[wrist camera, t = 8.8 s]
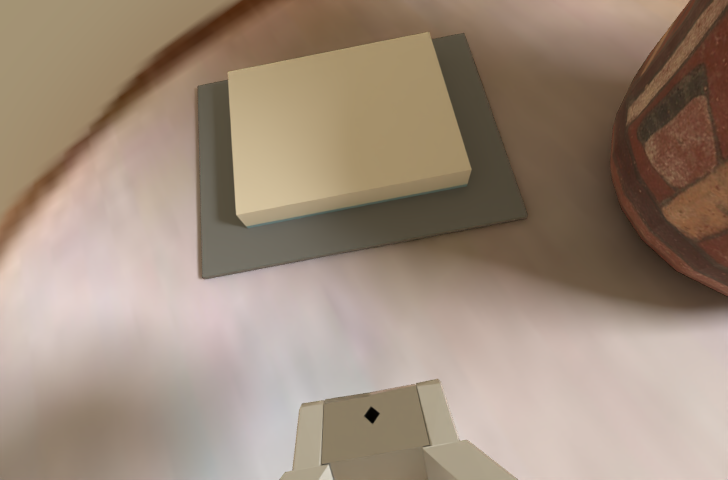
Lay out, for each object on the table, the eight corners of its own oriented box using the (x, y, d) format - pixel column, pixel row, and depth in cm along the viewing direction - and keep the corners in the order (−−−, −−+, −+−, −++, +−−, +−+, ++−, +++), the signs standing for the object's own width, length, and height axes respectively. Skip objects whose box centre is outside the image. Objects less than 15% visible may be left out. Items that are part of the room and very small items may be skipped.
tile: (466, 186, 26) (427, 54, 31) (471, 169, 25) (429, 31, 29) (247, 228, 27) (238, 92, 31) (236, 215, 25) (227, 71, 29)
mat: (463, 37, 31) (464, 32, 31) (526, 218, 26) (527, 215, 25) (199, 89, 32) (197, 85, 31) (205, 279, 26) (202, 277, 26)
